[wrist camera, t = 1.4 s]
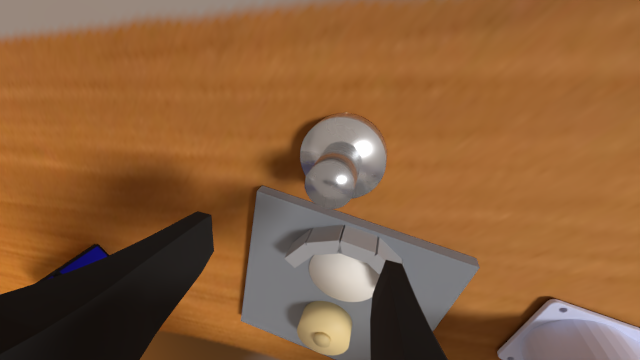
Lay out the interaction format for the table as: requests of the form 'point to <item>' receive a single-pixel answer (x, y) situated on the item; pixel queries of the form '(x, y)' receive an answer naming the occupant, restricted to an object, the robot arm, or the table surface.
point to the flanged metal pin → (342, 159)
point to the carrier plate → (336, 274)
